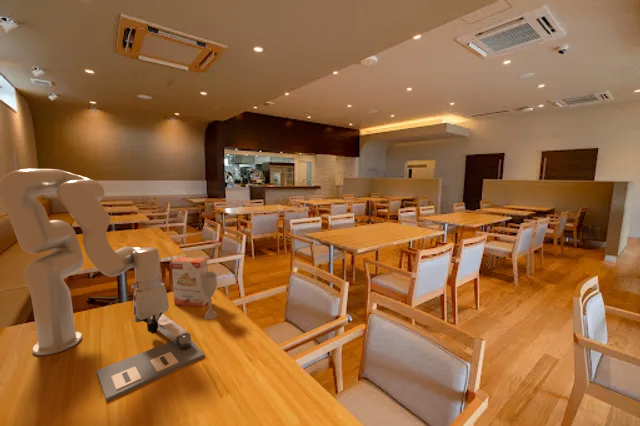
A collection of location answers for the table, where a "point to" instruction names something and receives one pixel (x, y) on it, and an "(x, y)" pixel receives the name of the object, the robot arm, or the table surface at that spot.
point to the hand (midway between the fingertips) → (153, 331)
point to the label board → (145, 368)
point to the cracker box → (188, 281)
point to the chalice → (209, 290)
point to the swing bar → (174, 332)
